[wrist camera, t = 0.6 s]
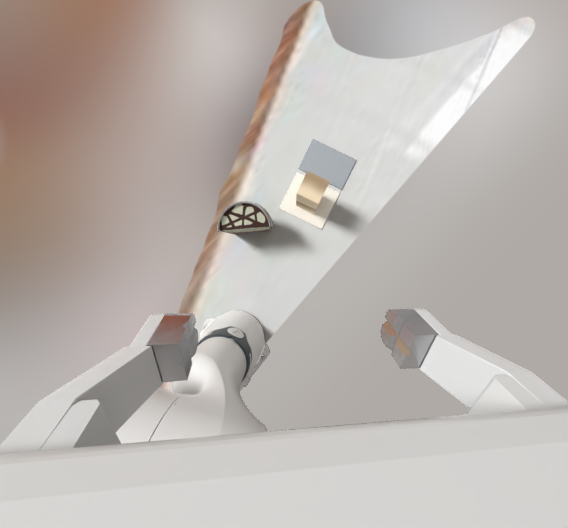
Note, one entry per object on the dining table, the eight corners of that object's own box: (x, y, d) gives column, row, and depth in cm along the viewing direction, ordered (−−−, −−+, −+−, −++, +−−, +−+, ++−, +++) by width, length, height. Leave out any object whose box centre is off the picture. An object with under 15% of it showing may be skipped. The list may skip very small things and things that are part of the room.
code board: (321, 229, 56) (321, 229, 56) (279, 208, 56) (279, 208, 56) (356, 160, 55) (356, 159, 55) (313, 139, 55) (313, 138, 55)
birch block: (313, 213, 56) (318, 204, 45) (295, 205, 56) (296, 193, 45) (322, 195, 55) (329, 181, 44) (304, 187, 55) (307, 170, 44)
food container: (274, 206, 56) (270, 196, 46) (276, 231, 57) (272, 226, 47) (227, 210, 57) (212, 201, 47) (229, 234, 57) (215, 230, 47)
